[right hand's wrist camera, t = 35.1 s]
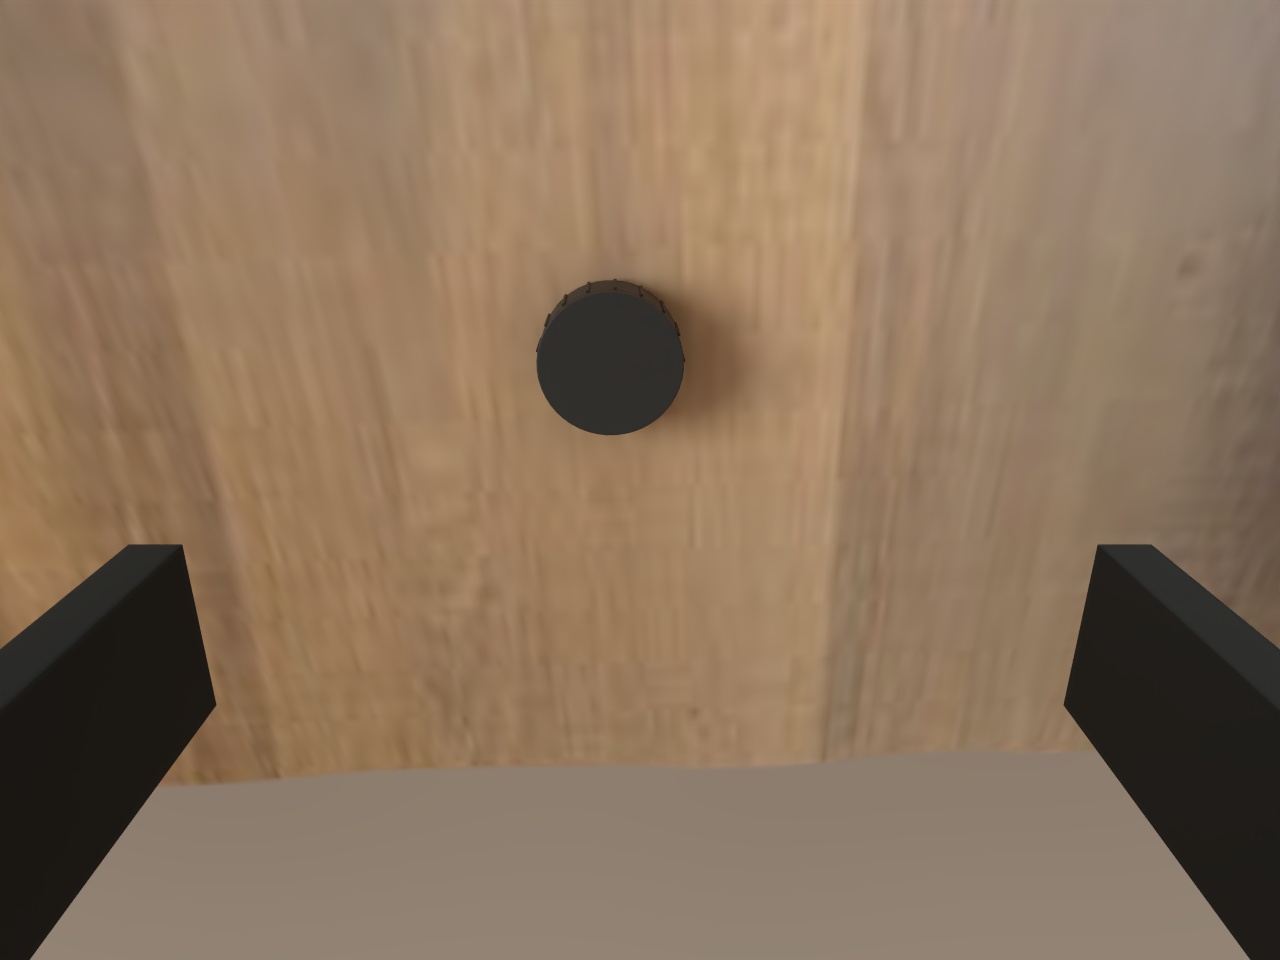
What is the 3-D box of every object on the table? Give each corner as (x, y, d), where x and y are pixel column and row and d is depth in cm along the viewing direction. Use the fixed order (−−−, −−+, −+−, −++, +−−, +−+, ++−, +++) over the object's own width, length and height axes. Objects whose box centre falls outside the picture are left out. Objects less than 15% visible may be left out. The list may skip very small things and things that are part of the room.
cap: (710, 342, 28) (717, 358, 26) (618, 443, 29) (618, 465, 27) (603, 248, 26) (602, 257, 25) (511, 356, 28) (504, 373, 26)
